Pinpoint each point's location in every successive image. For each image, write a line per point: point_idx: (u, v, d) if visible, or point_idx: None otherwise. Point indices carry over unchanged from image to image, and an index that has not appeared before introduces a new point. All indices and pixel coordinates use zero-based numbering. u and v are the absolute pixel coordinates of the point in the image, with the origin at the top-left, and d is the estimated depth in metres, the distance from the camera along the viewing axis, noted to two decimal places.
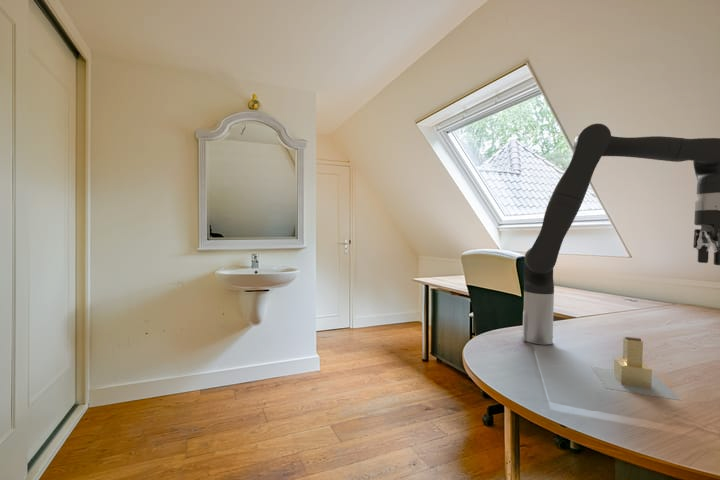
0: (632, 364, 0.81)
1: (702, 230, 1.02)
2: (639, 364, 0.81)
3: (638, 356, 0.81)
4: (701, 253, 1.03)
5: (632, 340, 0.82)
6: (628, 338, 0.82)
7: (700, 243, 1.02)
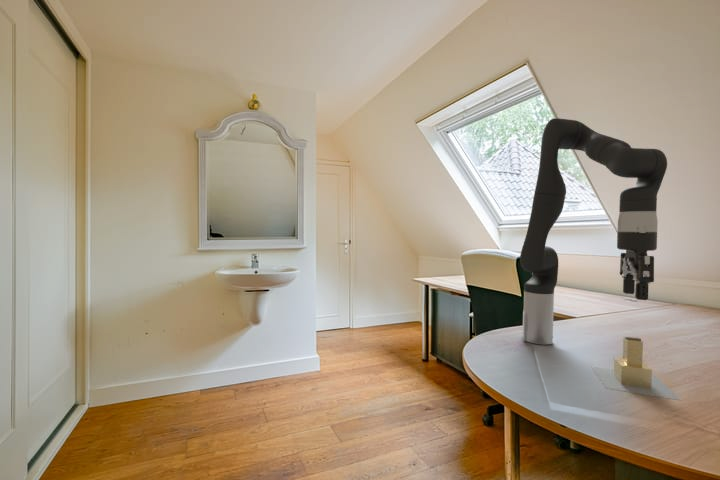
0: (632, 364, 0.81)
1: (627, 255, 0.85)
2: (639, 364, 0.81)
3: (638, 356, 0.81)
4: (626, 282, 0.86)
5: (632, 340, 0.82)
6: (628, 338, 0.82)
7: (625, 270, 0.85)
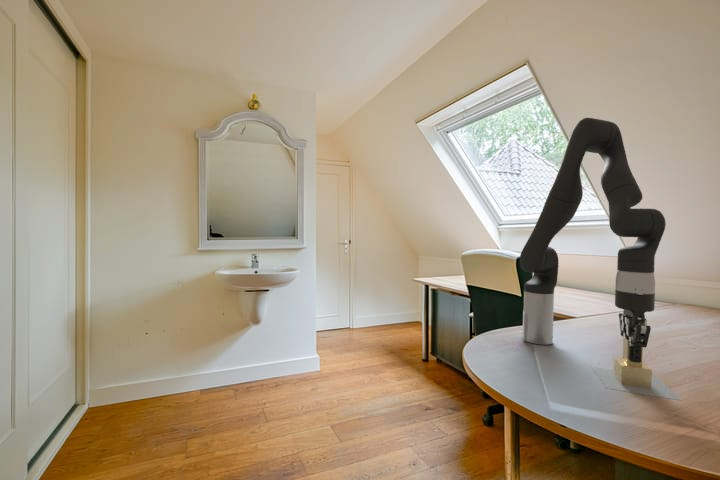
0: (632, 364, 0.81)
1: (624, 311, 0.85)
2: (639, 364, 0.81)
3: None
4: None
5: None
6: (628, 338, 0.82)
7: (624, 330, 0.84)
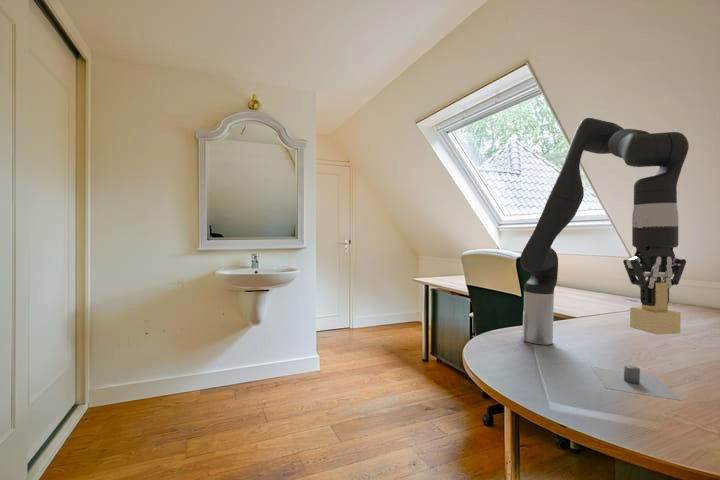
0: (646, 308, 0.73)
1: None
2: (653, 308, 0.71)
3: None
4: None
5: None
6: None
7: None
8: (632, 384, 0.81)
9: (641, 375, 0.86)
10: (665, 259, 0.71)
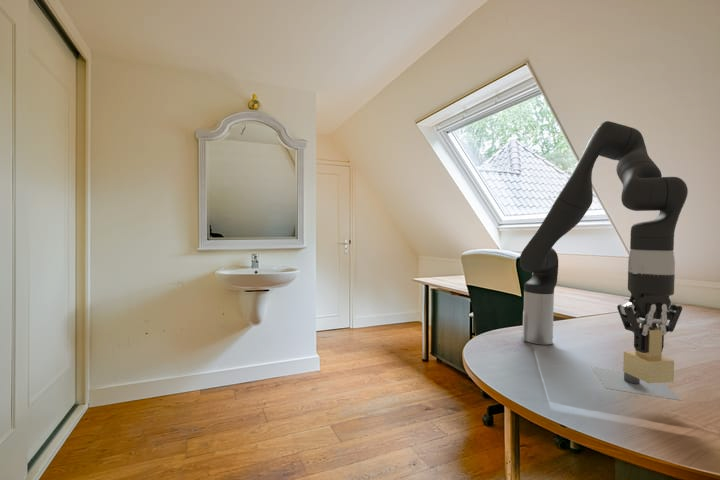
0: (640, 354, 0.72)
1: None
2: (646, 355, 0.71)
3: None
4: None
5: None
6: None
7: None
8: (632, 384, 0.81)
9: None
10: (660, 307, 0.70)
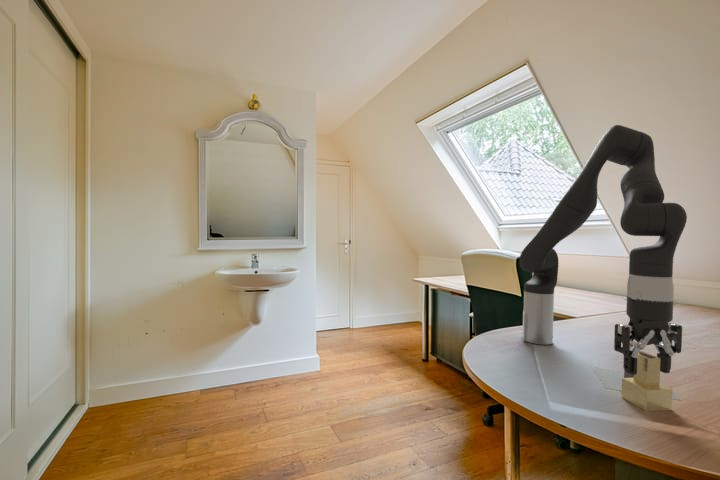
0: (638, 381, 0.72)
1: None
2: (644, 383, 0.71)
3: (643, 374, 0.71)
4: (659, 357, 0.73)
5: (641, 355, 0.72)
6: (641, 353, 0.73)
7: None
8: None
9: None
10: (659, 333, 0.70)
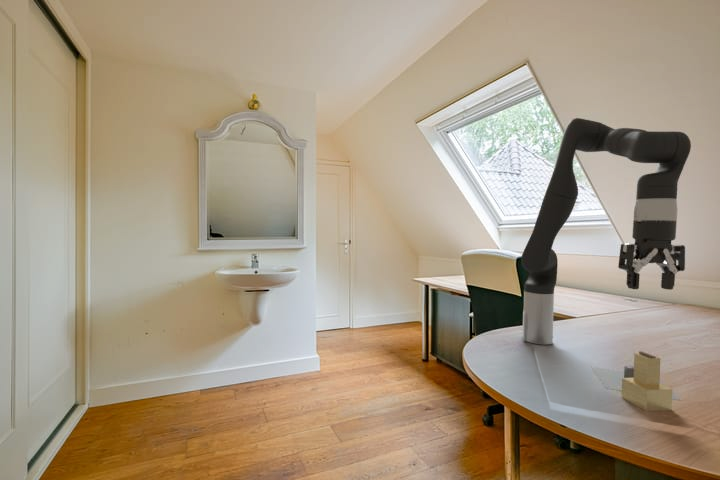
0: (638, 381, 0.72)
1: None
2: (644, 383, 0.71)
3: (643, 374, 0.71)
4: (664, 276, 0.79)
5: (641, 355, 0.72)
6: (641, 353, 0.73)
7: (657, 262, 0.79)
8: None
9: None
10: (662, 252, 0.76)
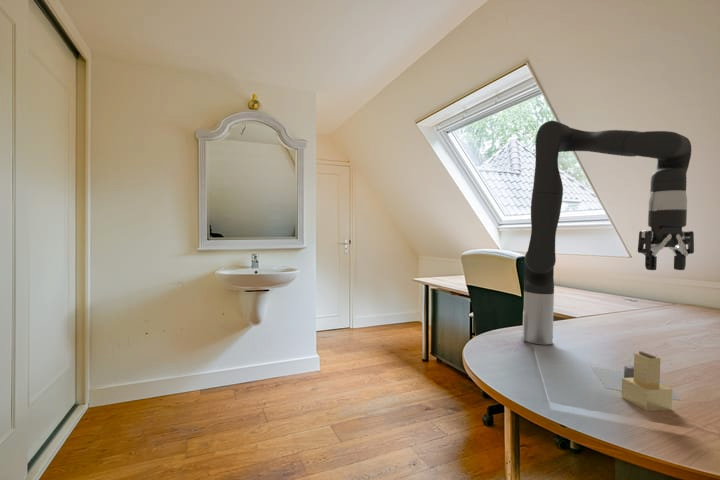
0: (638, 381, 0.72)
1: None
2: (644, 383, 0.71)
3: (643, 374, 0.71)
4: (676, 259, 0.90)
5: (641, 355, 0.72)
6: (641, 353, 0.73)
7: (669, 247, 0.91)
8: None
9: None
10: (675, 237, 0.87)
